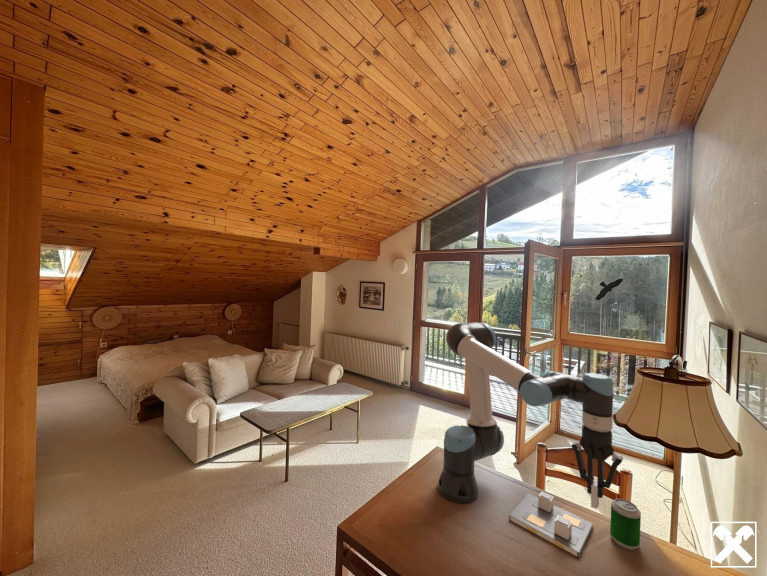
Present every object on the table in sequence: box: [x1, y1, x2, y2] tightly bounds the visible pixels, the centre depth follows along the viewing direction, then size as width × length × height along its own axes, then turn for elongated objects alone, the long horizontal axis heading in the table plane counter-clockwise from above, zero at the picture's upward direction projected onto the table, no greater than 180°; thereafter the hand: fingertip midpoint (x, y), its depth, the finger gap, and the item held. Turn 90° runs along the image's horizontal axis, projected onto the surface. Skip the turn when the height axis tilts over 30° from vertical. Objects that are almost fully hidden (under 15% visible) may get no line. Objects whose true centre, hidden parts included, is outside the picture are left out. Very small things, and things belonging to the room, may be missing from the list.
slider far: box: [537, 491, 555, 512], centre depth 114 cm, size 4×4×4 cm
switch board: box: [508, 492, 594, 558], centre depth 108 cm, size 21×17×2 cm
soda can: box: [609, 498, 642, 551], centre depth 101 cm, size 8×8×12 cm
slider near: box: [554, 515, 572, 540], centre depth 101 cm, size 4×4×4 cm
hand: (594, 505), depth 96 cm, fingers closed
